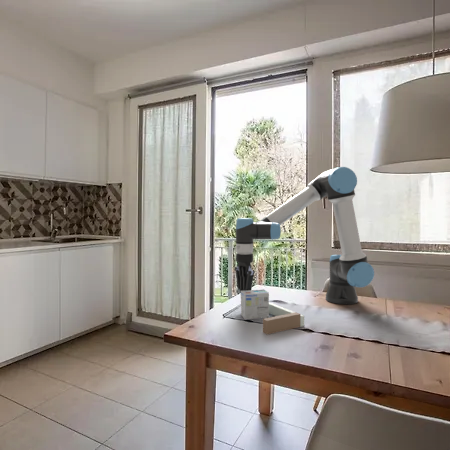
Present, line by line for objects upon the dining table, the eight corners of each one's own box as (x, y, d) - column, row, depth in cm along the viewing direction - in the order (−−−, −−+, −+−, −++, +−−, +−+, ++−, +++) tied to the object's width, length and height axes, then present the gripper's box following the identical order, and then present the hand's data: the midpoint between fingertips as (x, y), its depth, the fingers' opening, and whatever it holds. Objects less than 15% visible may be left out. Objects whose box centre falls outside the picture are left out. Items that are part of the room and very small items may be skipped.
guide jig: (266, 309, 148) (266, 298, 148) (304, 325, 127) (304, 313, 127) (232, 316, 139) (232, 304, 139) (266, 334, 118) (267, 320, 118)
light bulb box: (263, 313, 143) (263, 288, 143) (269, 318, 136) (269, 292, 136) (240, 315, 140) (240, 290, 140) (244, 320, 134) (245, 293, 133)
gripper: (229, 252, 148) (229, 303, 149) (245, 255, 137) (245, 311, 138) (243, 251, 152) (243, 301, 153) (260, 254, 141) (259, 308, 142)
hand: (244, 306), depth 145 cm, fingers closed
